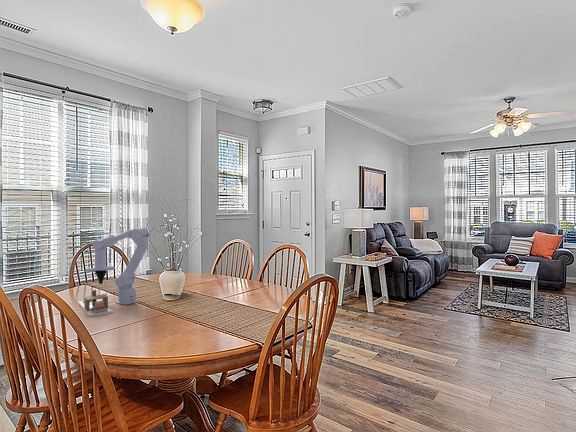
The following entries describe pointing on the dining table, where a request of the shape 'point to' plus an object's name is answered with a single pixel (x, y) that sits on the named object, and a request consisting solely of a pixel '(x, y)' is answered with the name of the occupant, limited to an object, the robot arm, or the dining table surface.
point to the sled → (93, 304)
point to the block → (98, 305)
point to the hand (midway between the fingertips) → (100, 283)
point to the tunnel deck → (88, 302)
